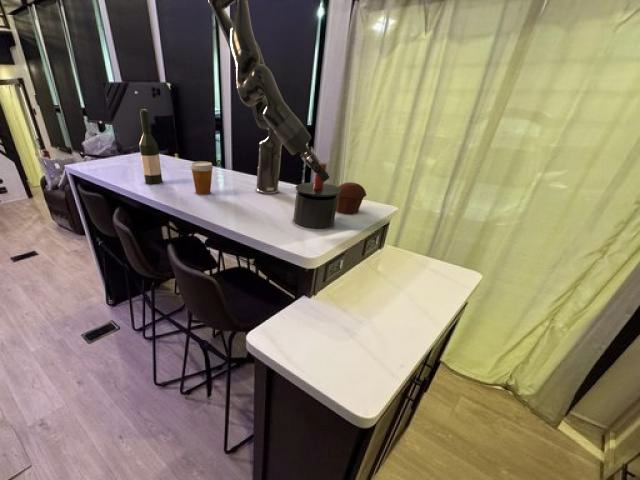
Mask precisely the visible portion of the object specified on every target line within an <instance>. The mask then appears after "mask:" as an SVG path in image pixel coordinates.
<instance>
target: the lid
mask: <svg viewBox="0 0 640 480" xmlns="http://www.w3.org/2000/svg"><path fill="white" fill-rule="evenodd" d="M320 164H321V166H323V169H324V170H325V171H326V172H327V165H328V164H327V163H325V162H321V163H320ZM317 166H318V165H317ZM294 189H295V191H296V192H297V191H298V192H299V193H302V194H305V195H309V196H315V197H329V196H336V195H339V194H340V193H341V189H340V188H338V186H336V185H333V184H332V185H329V184H324V182H323V180H322V179H321V178H320V177H319V175H318V174H317V173H315V174H314V182H303V183H299V184H297V185H295V188H294Z"/></svg>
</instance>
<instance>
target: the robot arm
mask: <svg viewBox="0 0 640 480" xmlns="http://www.w3.org/2000/svg"><path fill="white" fill-rule="evenodd" d="M207 1H208V4H209V6H210V8H211V10H212V12H213V14H214V17H215V19H216V21H217V23H218V25H219V27H220V30H221V31H222V34H223V36H224V38H225V41H226V43H227V46H228V49H229V51H230V54H231V57H232V59H233V62H234V64H235V67H236V69H235V74H236V89H237V93H238V97H239V99H240V100H241V102H242V103H243V105H245V106H246V107H248V108H251V109H252V114H253V115H254V119H255V122H256V124H257V126H258V127H259V129H260V130H263V131H268V135H267V138H265V139H262V140H261V141H259V143H258V165H257V166H258V167H257V171H256V173H257V174H256V192H258V193H260V194H264V195H274V194H277V193H279V181H280V171H281V158H282V146H284V147H285V149H286V150H287V151H288V153H289V154H290V155H292V156H294V155H297V154H298V152H299V153H300V158H301V160H302V161H303V162H305V163H306V165H307V167H309V169H311V170H312V171H313V173H315V174H316V173H317V174H318V175H319V177H320V178H321V179H322V180H323V182H325V181H326V180H329V179H330V175H329V173H328V171H327V170H326V171H325V170H324V169H323V166H321V164H320V163H322V162H321V160H320V159H319V157H318V155H317V154H316V153H315V150H314V148H313V146H308V145H307V144H308V143H310V141H311V139H312V135H311V134H310V133H309V131H308V130H307V128H306V127H305V126H304V124H303V123H302V121H301V120H300V118H298V117H297V115H296V114H294V112H293V111H292V110H291V108H290V107H289V106H288V105H287V103H286V102H285V101H284V99H283V96H282V94H281V92H280V90H279V87H278V85H277V82H276V80H275V77H274V74H273V72H272V71H271V70H270V68H268V67H267V66H266V63H265V61H264V57H263V54H262V51H261V48H260V46H259V44H258V42H257V41H256V38H255V35H254V30H253V26H252V20H251V14H250V8H249V2H248V0H207ZM233 4H235V7H234V15H233V19H231V18H230V16H229V15H228V13H227V12H226V10H225V9H227V8H229V7H230V6H232V5H233ZM317 165H318V166H317Z"/></svg>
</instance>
